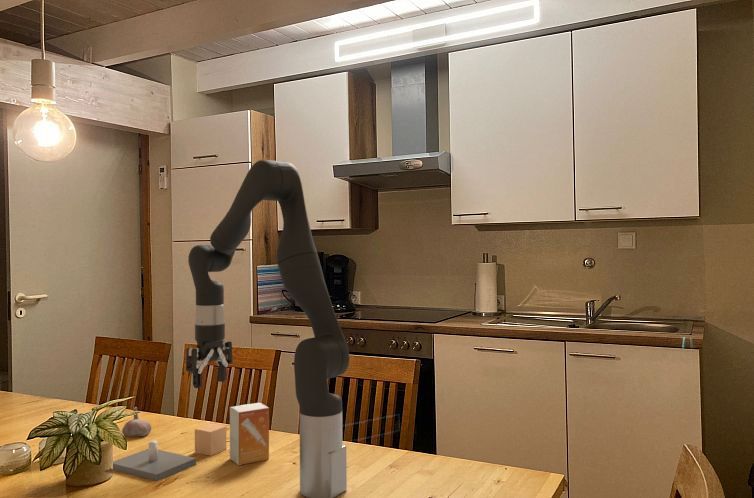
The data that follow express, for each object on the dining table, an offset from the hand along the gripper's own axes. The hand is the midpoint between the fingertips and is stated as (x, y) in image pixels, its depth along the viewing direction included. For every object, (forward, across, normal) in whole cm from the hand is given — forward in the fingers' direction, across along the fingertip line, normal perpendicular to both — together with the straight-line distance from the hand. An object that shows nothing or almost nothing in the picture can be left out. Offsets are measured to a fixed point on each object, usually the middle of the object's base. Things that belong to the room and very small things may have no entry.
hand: (210, 384), depth 158 cm
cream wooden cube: (+17, 0, 0) cm, 17 cm away
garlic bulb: (+18, 0, +28) cm, 33 cm away
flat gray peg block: (+17, -15, +4) cm, 23 cm away
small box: (+17, 0, -13) cm, 22 cm away
